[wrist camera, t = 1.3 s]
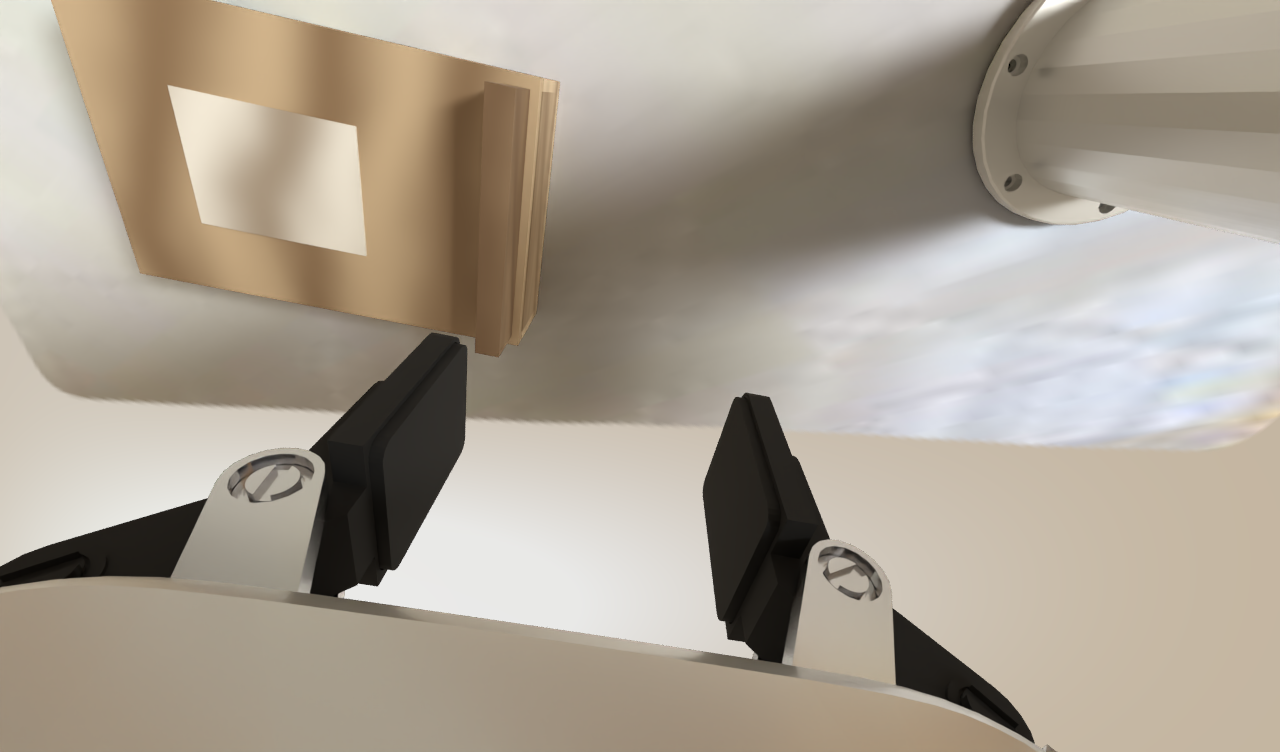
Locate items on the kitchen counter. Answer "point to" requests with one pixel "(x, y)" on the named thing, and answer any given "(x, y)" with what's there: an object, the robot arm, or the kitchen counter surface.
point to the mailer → (539, 191)
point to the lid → (312, 162)
